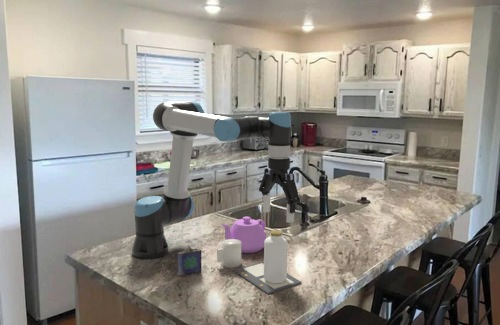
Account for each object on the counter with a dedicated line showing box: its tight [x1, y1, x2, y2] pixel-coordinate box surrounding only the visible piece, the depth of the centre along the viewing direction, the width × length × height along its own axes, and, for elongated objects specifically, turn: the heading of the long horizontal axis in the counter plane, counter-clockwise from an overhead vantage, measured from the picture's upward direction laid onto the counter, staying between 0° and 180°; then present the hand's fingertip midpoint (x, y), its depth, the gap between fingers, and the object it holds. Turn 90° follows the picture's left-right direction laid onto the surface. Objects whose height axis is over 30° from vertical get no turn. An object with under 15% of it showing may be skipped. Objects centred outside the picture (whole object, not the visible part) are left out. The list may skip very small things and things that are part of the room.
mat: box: [233, 261, 302, 295], centre depth 154 cm, size 15×22×1 cm
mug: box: [216, 239, 242, 269], centre depth 164 cm, size 10×8×9 cm
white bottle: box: [263, 229, 288, 284], centre depth 149 cm, size 8×8×18 cm
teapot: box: [221, 216, 267, 254], centre depth 182 cm, size 25×18×14 cm
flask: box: [177, 245, 202, 277], centre depth 156 cm, size 9×3×11 cm, turn 117°
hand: (277, 216), depth 145 cm, fingers open, 13 cm apart
